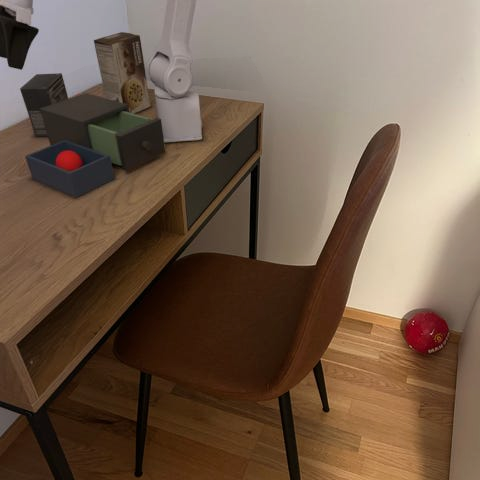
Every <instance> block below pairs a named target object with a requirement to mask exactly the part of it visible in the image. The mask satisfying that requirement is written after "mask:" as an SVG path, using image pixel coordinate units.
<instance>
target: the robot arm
mask: <svg viewBox="0 0 480 480" xmlns="http://www.w3.org/2000/svg"><path fill="white" fill-rule="evenodd" d="M196 4H197V0H166V5H165V13H164V19H163V25H162V31H161V37H160V38H159V40H158V42H156V44H155V46H154V51H153V55H152V56H151V58H150V59H149V61H148V64H147V67H146V71H147V76H148V78H149V80H150V82H151V83H152V84H154V99H155V107H156V115H157V118H159V119H161V123H162V130H163V138H164V144H165V143H176V142H178V143H179V142H188V141H189V142H191V141H192V142H193V141H201V140H203V135H202V134H203V133H202V128H203V119H202V118H201V107H200V98H199V97H200V95H199V92H198V91H190V90H191V88H192V87H193V82H194V80H193V79H194V76H193V71H192V64H193V56H192V53H191V50H190V47H189V42H190V38H191V33H192V27H193V21H194V15H195V9H196ZM33 5H34V0H0V58H3V59H6V62H7V66H8V68H11V69H16V70H21V71H22V70H23V69H24V66H25V64H26V59H27V56H28V53H29V50H30V48H31V46H32V43H33V42H34V40H35V38H36V37H37V36H38V34H39V32H40V30H39V28H38V27H36V26H33V25H31V24H32V15H34V11H35V10H34V8H33Z"/></svg>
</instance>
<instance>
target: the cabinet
mask: <svg viewBox="0 0 480 480" xmlns="http://www.w3.org/2000/svg"><path fill="white" fill-rule="evenodd" d="M40 111H41V115H42V118H43V121H44V125H45V128H46V132H47V135H48V136H47V138H48V142H49V146H51V145H54V144H56V143H59V142H61V141H64V140H67V141H69V142H72V143H75V144H78V145H81V146H84V147H86V148H89V149H92V148H91V144H90V140H89V136H88V131H87V127H86V124H88V123H91V122H94V121H96V120H99V119H101V118H104V117H106V116H109V115H112V114H114V113H117V112H119V111H126V112H129V113H130V111H129V106H128V104H125V103H121V102H117V101H113V100H110V99H106V98H105V97H102V96H98V95H95V94H92V93H87V92H85V93H82V94H79V95H76V96H73V97H69V98H68V99H67V100H64V101H61V102H58V103H55V104H52V105H49V106H46V107H43V108H40Z"/></svg>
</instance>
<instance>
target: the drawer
mask: <svg viewBox="0 0 480 480" xmlns="http://www.w3.org/2000/svg"><path fill="white" fill-rule="evenodd" d="M86 127H87V131H88V136H89V140H90V144H91V148H92V150H95V151H98V152H101V153H104V154H106V155H109V156H110V159H111V163H112V164H114V165H116V166H120V167H121V168H122V170H123V171H125V172H128V171H131V170H132V169H135V168H136V167H138V166H141V165H143V164H145V163H147V162H149V161H151V160H153V159H155V158H157V157H159V156H161V155H163V154H165V153H166V147H165V143H164V138H163V130H162V123H161V119H159V118H158V117H156V118H153V119H151V117H147V116H143V115H139V114H137V113H134V114H133V113H129V112H126V111H119V112H117V113H114V114H112V115H109V116H106V117H104V118H101V119H99V120H96V121H94V122H91V123H88V124H86Z"/></svg>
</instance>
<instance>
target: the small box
mask: <svg viewBox="0 0 480 480" xmlns="http://www.w3.org/2000/svg"><path fill="white" fill-rule="evenodd" d="M19 90H20V93H21V96H22V101H23V102H24V106H25V108H26V112H27V114H28V118H29V121H30V124H31V128H32V130H33V134H34V136H35V137H48V135H47V132H46V128H45V125H44V121H43V118H42V115H41V111H40V108H43V107H46V106H49V105H52V104H55V103H58V102H61V101H64V100H67V99H69V96H68V92H67V87H66V84H65V80H64V78H63V73H62V72H59V73H36V74H35V75H34V76H33V77H32V78H30V79H29V80H28V81H27V82H26V83H24V85H22V86H21V87H20V88H19Z"/></svg>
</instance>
